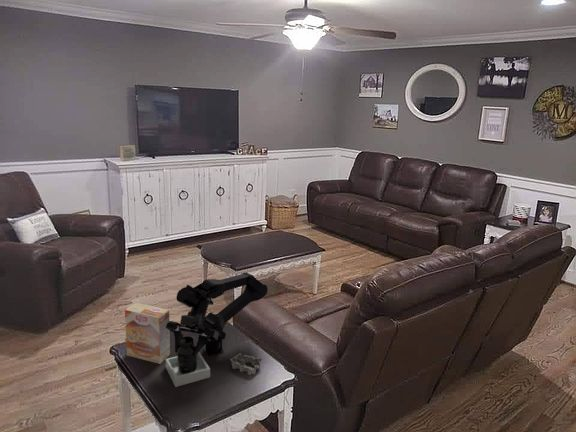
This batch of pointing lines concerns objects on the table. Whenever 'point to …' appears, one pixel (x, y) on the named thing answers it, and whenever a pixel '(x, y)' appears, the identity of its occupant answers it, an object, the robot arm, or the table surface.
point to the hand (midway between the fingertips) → (184, 354)
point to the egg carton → (246, 359)
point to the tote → (182, 379)
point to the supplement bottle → (186, 356)
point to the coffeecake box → (147, 332)
